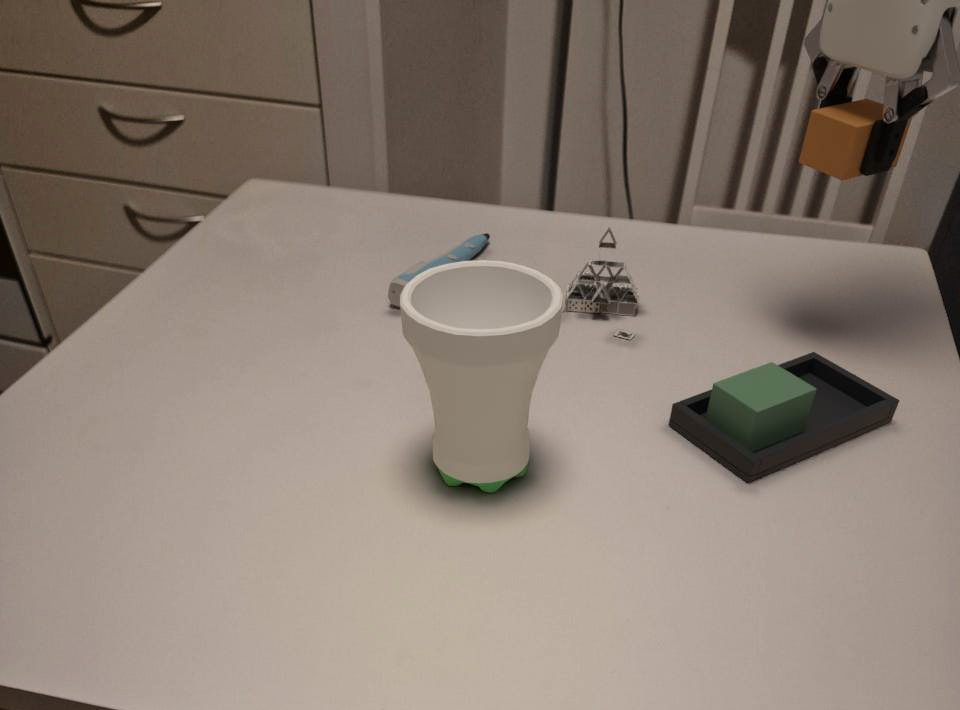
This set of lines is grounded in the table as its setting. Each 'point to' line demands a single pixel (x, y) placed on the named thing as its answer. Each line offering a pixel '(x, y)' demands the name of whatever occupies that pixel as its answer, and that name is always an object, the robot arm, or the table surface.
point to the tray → (831, 421)
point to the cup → (481, 361)
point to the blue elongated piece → (437, 264)
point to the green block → (760, 406)
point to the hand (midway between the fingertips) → (848, 159)
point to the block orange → (842, 138)
